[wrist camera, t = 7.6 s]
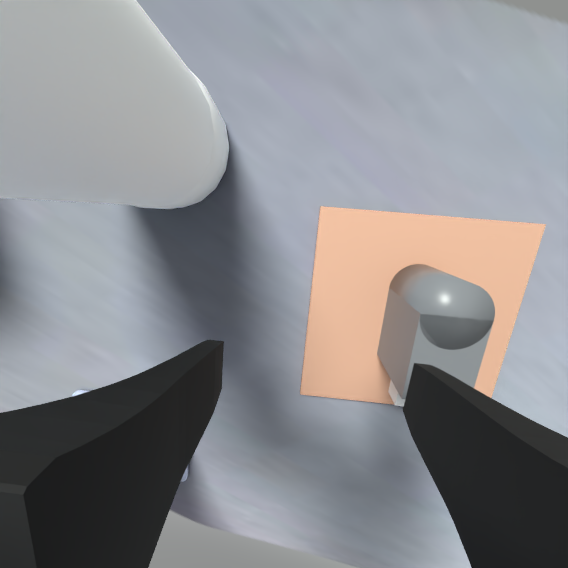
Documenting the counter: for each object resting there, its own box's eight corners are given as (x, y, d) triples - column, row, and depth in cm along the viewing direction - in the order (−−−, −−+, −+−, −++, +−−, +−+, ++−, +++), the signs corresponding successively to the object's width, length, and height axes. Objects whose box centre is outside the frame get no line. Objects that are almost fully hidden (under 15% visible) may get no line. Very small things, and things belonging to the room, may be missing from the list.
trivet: (300, 390, 21) (300, 394, 21) (320, 206, 18) (320, 206, 17) (481, 409, 21) (485, 414, 20) (539, 224, 17) (545, 224, 17)
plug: (372, 377, 20) (394, 429, 15) (394, 261, 18) (427, 279, 13) (421, 383, 20) (459, 436, 15) (449, 266, 18) (503, 285, 13)
